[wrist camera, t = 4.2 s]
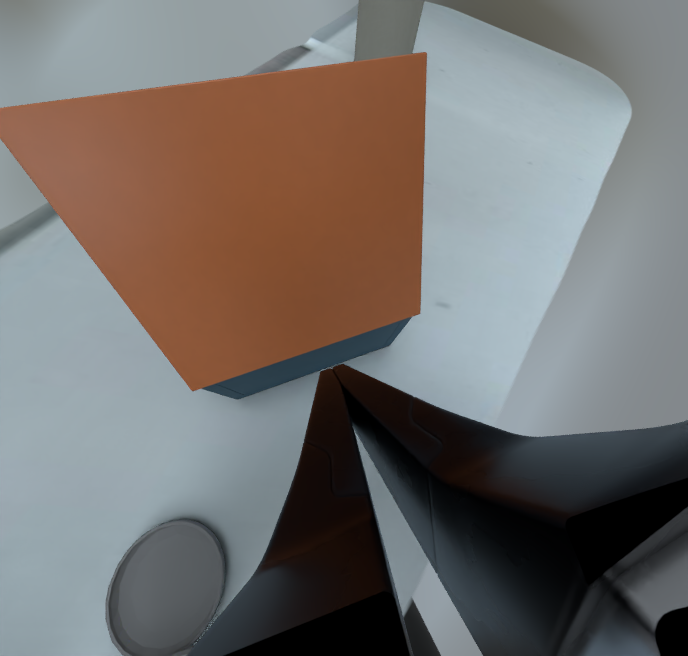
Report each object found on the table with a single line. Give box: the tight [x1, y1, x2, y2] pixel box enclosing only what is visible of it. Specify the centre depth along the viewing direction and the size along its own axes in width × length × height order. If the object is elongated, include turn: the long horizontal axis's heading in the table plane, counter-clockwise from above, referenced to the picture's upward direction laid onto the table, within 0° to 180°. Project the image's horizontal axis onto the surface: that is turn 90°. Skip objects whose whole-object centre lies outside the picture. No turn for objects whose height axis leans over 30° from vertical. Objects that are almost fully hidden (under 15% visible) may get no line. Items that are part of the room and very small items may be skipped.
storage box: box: [201, 317, 412, 399], centre depth 20 cm, size 11×14×7 cm
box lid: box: [0, 52, 427, 391], centre depth 12 cm, size 11×14×1 cm
